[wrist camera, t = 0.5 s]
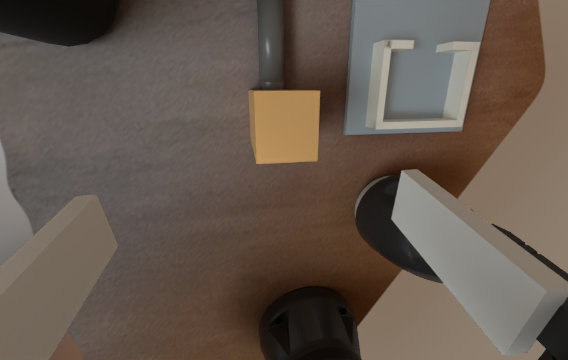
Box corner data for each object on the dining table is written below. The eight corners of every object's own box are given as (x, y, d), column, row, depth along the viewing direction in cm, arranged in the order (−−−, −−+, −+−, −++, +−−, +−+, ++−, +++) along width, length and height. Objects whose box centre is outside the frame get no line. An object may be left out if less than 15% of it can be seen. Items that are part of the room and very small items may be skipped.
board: (457, 130, 35) (477, 134, 32) (343, 133, 33) (354, 138, 30) (493, -44, 29) (524, -60, 26) (356, -55, 27) (372, -74, 23)
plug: (292, 137, 32) (317, 160, 22) (250, 138, 31) (256, 163, 21) (293, -15, 27) (326, -79, 17) (243, -18, 26) (246, -86, 16)
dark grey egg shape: (418, 163, 36) (535, 212, 22) (406, 230, 39) (500, 310, 25) (348, 165, 34) (424, 220, 20) (341, 235, 38) (403, 323, 24)
